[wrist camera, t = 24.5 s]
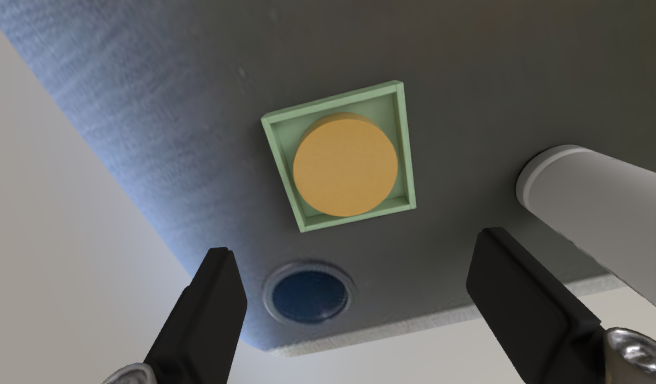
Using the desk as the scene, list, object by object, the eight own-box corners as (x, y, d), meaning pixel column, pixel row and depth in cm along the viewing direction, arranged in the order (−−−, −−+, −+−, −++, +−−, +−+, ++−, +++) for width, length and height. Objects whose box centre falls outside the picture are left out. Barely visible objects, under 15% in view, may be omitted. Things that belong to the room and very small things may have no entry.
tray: (302, 219, 24) (300, 232, 23) (265, 113, 20) (260, 118, 18) (409, 196, 24) (416, 208, 22) (395, 79, 19) (403, 82, 17)
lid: (292, 196, 23) (289, 212, 20) (298, 106, 19) (294, 112, 17) (379, 204, 23) (385, 220, 21) (399, 117, 20) (409, 125, 18)
